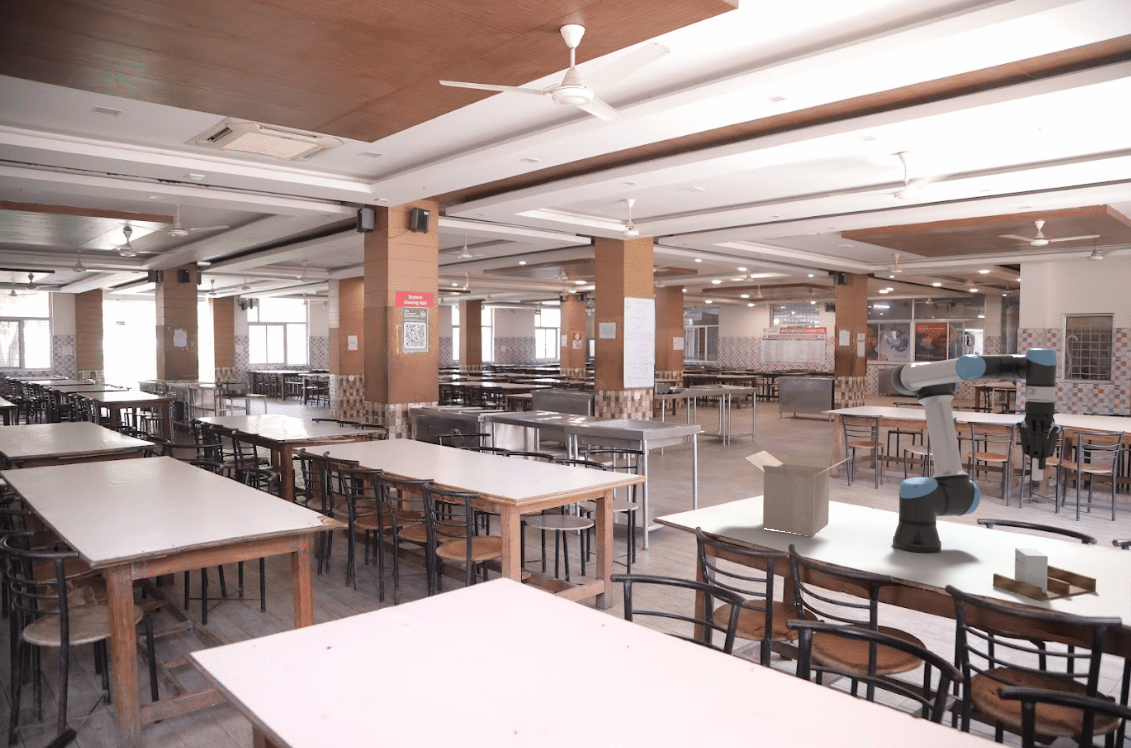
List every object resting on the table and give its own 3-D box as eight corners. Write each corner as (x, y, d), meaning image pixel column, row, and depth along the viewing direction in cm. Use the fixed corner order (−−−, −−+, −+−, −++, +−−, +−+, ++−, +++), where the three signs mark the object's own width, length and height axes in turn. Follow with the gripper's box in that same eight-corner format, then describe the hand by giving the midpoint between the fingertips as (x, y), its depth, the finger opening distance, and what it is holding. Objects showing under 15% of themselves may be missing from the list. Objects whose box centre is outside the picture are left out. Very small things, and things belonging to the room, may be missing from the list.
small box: (1047, 594, 209) (1048, 556, 209) (1025, 592, 210) (1026, 555, 210) (1035, 584, 217) (1036, 548, 217) (1013, 583, 218) (1015, 547, 218)
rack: (992, 585, 218) (993, 573, 218) (1047, 576, 226) (1048, 565, 226) (1039, 601, 205) (1039, 588, 205) (1095, 591, 213) (1096, 578, 213)
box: (850, 524, 290) (852, 456, 289) (831, 542, 265) (833, 467, 263) (765, 513, 308) (766, 449, 307) (740, 529, 282) (741, 458, 281)
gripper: (1010, 399, 228) (1008, 477, 229) (1052, 402, 216) (1049, 484, 217) (1028, 398, 231) (1025, 475, 232) (1070, 402, 219) (1067, 483, 220)
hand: (1037, 479), depth 224 cm, fingers closed
